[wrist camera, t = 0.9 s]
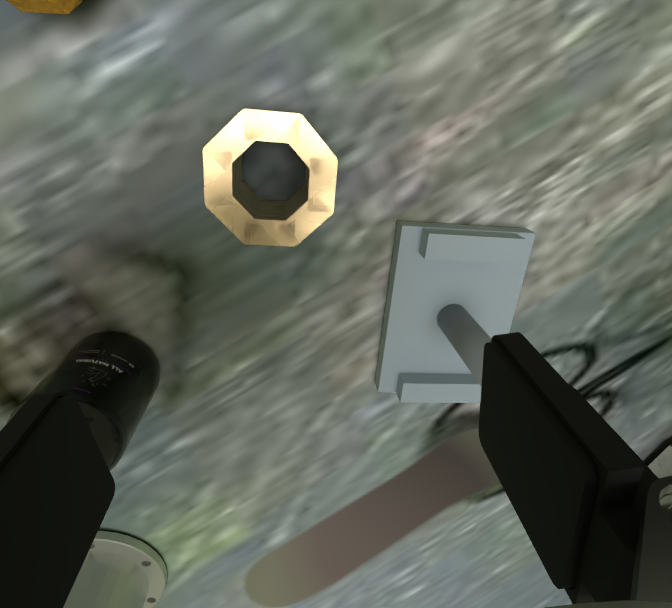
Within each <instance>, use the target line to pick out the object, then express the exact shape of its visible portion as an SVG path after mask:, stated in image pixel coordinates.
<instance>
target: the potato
mask: <svg viewBox="0 0 672 608" xmlns="http://www.w3.org/2000/svg"><path fill="white" fill-rule="evenodd" d="M7 1H8V2H10V3H11V4H12V5H13V6H15V7H16V8H17V9H19V10H20V11H21V12H35V13H54V14H69V13H70V12H71V11H73V10H74V9H75V8H76V7H77V6H78V5H79V4H80V3H81V2H82V1H83V0H7Z"/></svg>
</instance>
